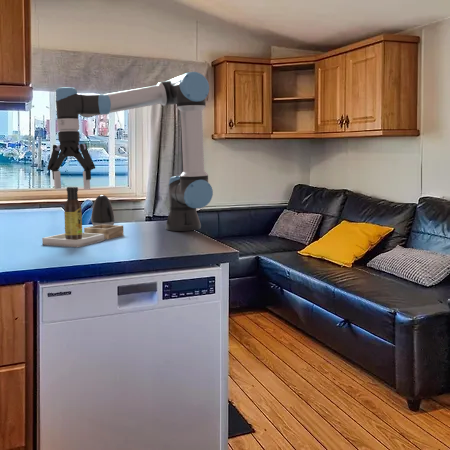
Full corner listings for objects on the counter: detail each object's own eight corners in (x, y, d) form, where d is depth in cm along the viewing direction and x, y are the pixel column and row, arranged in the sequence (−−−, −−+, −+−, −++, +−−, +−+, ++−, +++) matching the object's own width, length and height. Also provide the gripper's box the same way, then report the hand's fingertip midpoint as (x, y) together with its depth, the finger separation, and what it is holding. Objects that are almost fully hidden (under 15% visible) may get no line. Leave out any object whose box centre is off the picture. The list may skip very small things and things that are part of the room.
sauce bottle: (82, 240, 200) (80, 187, 198) (64, 241, 199) (62, 187, 196) (82, 238, 206) (81, 186, 204) (65, 238, 205) (63, 186, 202)
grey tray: (104, 240, 206) (104, 234, 206) (77, 247, 192) (76, 240, 192) (71, 238, 213) (71, 231, 213) (42, 244, 198) (42, 238, 198)
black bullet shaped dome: (118, 227, 241) (117, 194, 239) (111, 231, 231) (109, 195, 229) (96, 227, 242) (94, 194, 240) (88, 230, 232) (86, 195, 230)
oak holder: (123, 235, 219) (123, 225, 218) (107, 239, 209) (106, 229, 208) (101, 233, 223) (101, 224, 223) (84, 237, 213) (84, 227, 213)
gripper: (35, 132, 198) (39, 189, 201) (89, 129, 188) (93, 189, 191) (49, 132, 205) (53, 187, 208) (102, 129, 195) (106, 188, 198)
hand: (72, 188), depth 200 cm, fingers open, 13 cm apart
